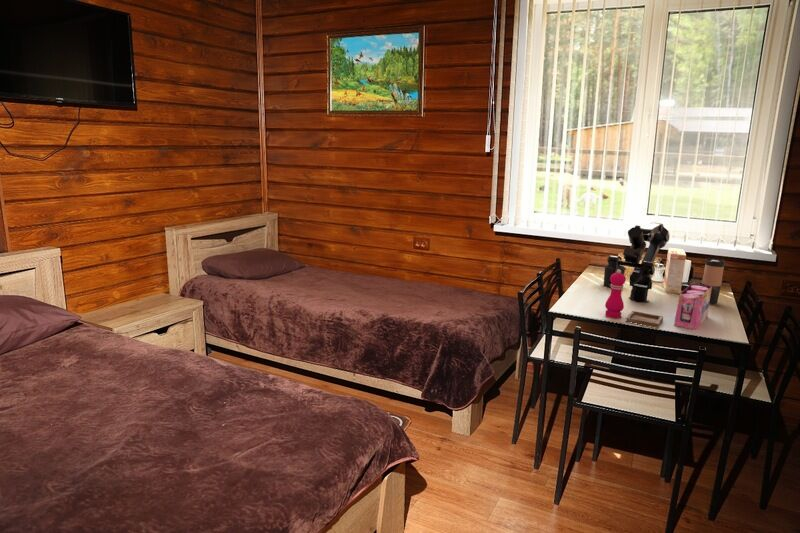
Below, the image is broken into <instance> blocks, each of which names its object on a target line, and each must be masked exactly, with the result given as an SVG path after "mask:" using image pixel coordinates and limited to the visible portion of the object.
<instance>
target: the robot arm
mask: <svg viewBox="0 0 800 533" xmlns="http://www.w3.org/2000/svg"><path fill="white" fill-rule="evenodd" d="M669 233H670V232H669V230H668V229H667V228H666V227H665V226H664V224H663V223H661V222H656V221H655V222H653V221H652V222H651V223H650V224H648V225H646V226H644V227H643V226H641V225H638V224H637V225H635V226H634V227H631V228H630V229H629V230H628V231H627V236H628V240H629V243H630V244H631V245H630V247H627V246H626V247H624V249H623V251H622V256H623V260H621V259H620V258H619V256H615V255H609V256H608V257H607V265H609V267H611V269H613V274H614V273H617V270H618V268H619V266H623V267H629V268H633V270H632V272H631V273H630V274H629V286H630V287H631V289H630V296H628V299H630V300H632V301H634V302H637V303H639V302H640V303H641V302H642V303H644V302H650V299H648V294H649V290H652V288H653V281H652V275H654V274H655V270H656V268H655V264H654V262H655V260H656V258H657V257H658V256H657V255H658V253H659V250H660V249H662V248H665V247H666V245H667V243H668V242H669V240H670V234H669ZM647 242H648V243H649V246H648V247H647ZM646 248H647V249H646ZM645 250H646V252H645ZM644 252H645V254H644ZM643 254H644V256H643ZM640 262H641V263H640Z"/></svg>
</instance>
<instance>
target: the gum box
mask: <svg viewBox="0 0 800 533" xmlns="http://www.w3.org/2000/svg"><path fill="white" fill-rule="evenodd" d="M711 289H712V286H707V285H702V283H701V284H700V283H695V282H692V283H690V284H689V285H688V286H687V287H686V288H685V289H683V290H681V293H680V294H679V297H678V300H677V301H678V302H677V307H676V311H675V312H676V313H675V317H674V318H675V319H674V322H673V323H674V324H673V325H674V326H676V325H678V326H677V327H680V326H682V327H681V328H684V327H686V329H688V328H690V329H689V330H693V329H695V330H696V329H697V328H698V327H699V326H700V325H701V324H702V323H703V322H704V321H705V320H706V319H707V317H708V312H709V307H710V304H709V302H710V296H711Z"/></svg>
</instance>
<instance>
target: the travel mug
mask: <svg viewBox="0 0 800 533" xmlns="http://www.w3.org/2000/svg"><path fill="white" fill-rule="evenodd" d="M725 263H726V261H725V260H724V259H720V258H716V257H715V258H713V257H712V258H710V257H708V258H705V265H704V270H703V276H702V282H701V285H707V286H712V289H711V296H710V302H709V305H717V304H718V303H719V302H718V301H719V298H720V297H719V296H720V293H721V287H722V282H723V276H724V275H723V274H724V269H725Z"/></svg>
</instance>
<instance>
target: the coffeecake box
mask: <svg viewBox="0 0 800 533" xmlns="http://www.w3.org/2000/svg"><path fill="white" fill-rule="evenodd" d="M667 249H668V251H667V257H666V265H665V271H664V277H663V283H662V284H663V285H662V286H663V289H664V292H665V293H670V294H679V295H680V293H681V292H682V286H683V285H682V284H683V280H684V272H685V266H686V261H687V260H686V258H687V254H686V252H685V250H684V249H681V248H674V247H668V248H667Z"/></svg>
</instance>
